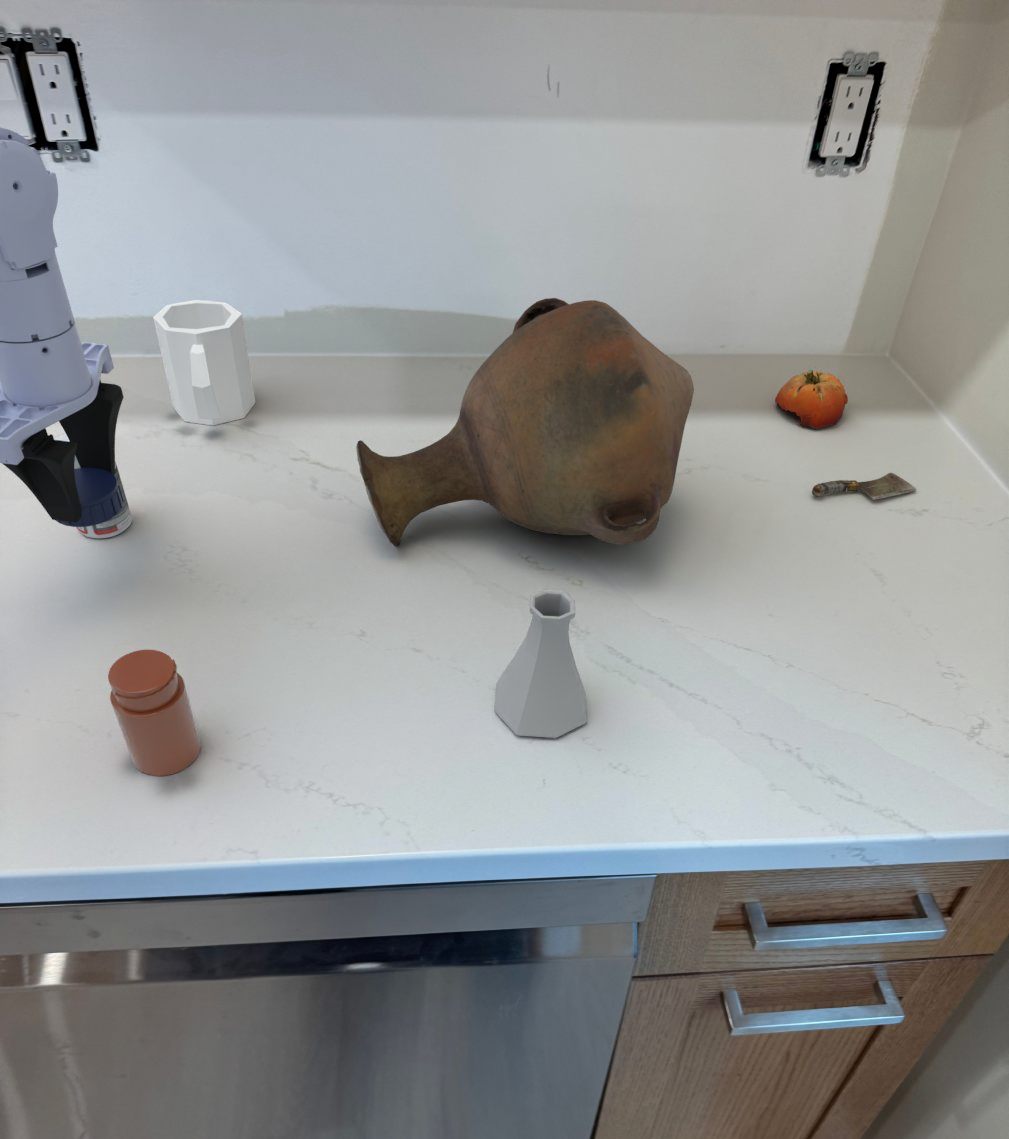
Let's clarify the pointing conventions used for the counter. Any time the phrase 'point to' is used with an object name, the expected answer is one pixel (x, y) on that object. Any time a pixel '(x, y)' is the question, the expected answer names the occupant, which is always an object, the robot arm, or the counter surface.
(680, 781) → the counter surface
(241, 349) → the mug
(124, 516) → the pill bottle
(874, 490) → the meat cleaver
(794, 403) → the tomato
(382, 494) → the jug
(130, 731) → the jar
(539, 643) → the flask
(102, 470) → the lid
